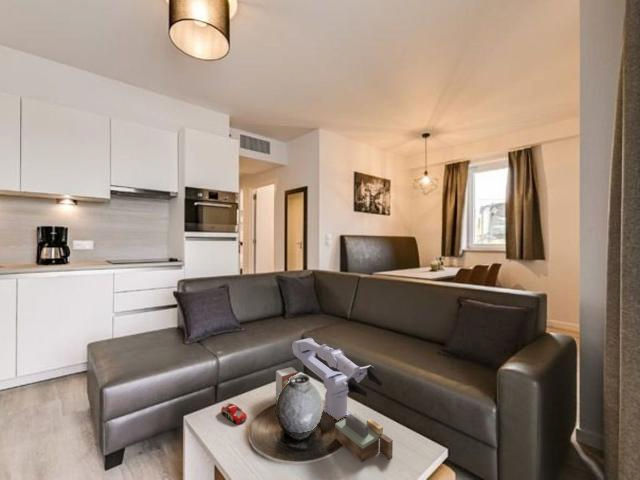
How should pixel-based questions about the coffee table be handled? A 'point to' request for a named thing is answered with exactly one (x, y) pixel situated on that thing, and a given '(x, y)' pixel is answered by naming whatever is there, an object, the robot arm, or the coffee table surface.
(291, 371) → the small box
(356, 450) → the toolbox
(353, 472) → the coffee table surface
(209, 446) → the coffee table surface
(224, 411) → the race car
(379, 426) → the wooden block
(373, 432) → the toolbox lid
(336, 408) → the robot arm
